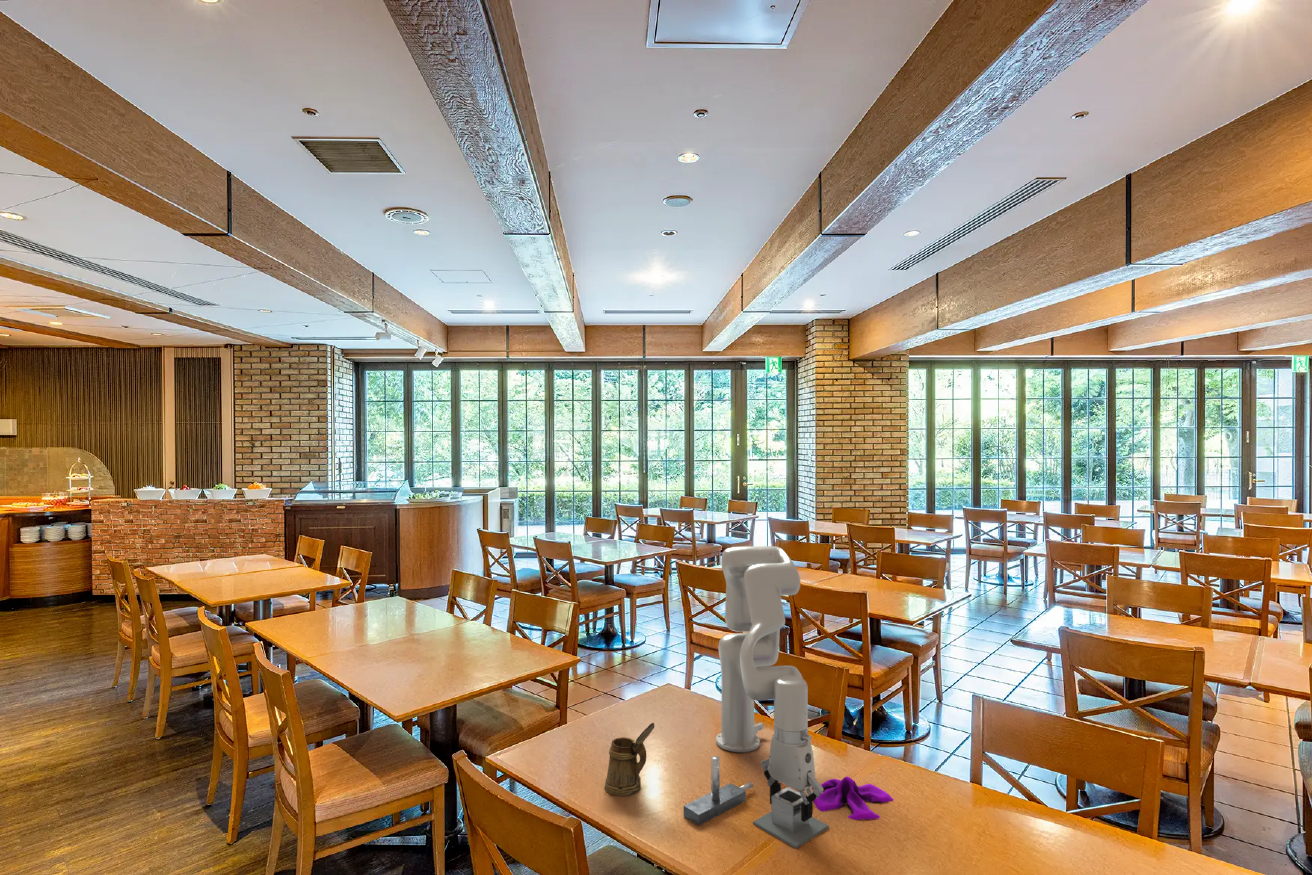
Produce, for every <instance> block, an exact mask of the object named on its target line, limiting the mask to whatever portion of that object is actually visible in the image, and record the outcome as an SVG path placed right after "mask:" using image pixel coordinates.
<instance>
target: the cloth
mask: <svg viewBox="0 0 1312 875" xmlns="http://www.w3.org/2000/svg"><path fill="white" fill-rule="evenodd" d="M820 785H821V786H822V787H823V792H822V793H821V794H820V795H819V797H818V798H817V799H815V800H814V801H813V804H814V805H815V807H816V808H817V810H818V811H820V812H822V813H824V812H827V811H832V810H838V809H841V808H842V807H846V806H847V805H848V807H849V808H850V810H851V814H850V815H847V816H848V819H850V820H856V821H860V820H878V819H880V818H881V816H880V815H879V814H877V813H875V812H874V811H872V810H871V809H870V807H868V805H867V804H866V802H870V803H872V804H873V803H877V802H878V803H887V802H888V803H889V802H894V801H893V800H894V798H893V797H892V796H891V795H890V794H889V793H888V792H886V791H884V790H883V789H881V788H879V787H878V786H876V785H874V784H872V783H867V784H864V785H860V786H859V785H858V784H857V783H856V781H855V780H854V779H852V778H851V777H850V776H844V777H843V778H842V779H838V778H831V779H828V780H825V781H824V782H823V783H820ZM812 789H813V790H814V788H813V787H812Z"/></svg>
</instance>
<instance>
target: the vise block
mask: <svg viewBox="0 0 1312 875" xmlns="http://www.w3.org/2000/svg"><path fill="white" fill-rule="evenodd" d="M720 761H721V758H720V756H718V755H712V756H711V761H710V762H711V763H710V764H711V766H710V767H711V768H710V772H711V774H710V776H711V778H710V779H711V781H710V782H711V783H710V792H709V793H707V794H705V795H702V796H700V797H699V798H696V799H695V800H692V801H690V802H688V803H686V804H684V805H683V818H686V819H687V820H688V821H690V822H691V823H693V824H695V825H696V826H698V827H699V826H701V825H704V824H705V823H708V822H709V821H711V820H713V819H714V818H717V817H719V816H720V815H723V814H725V813H726V812H729V811H730V810H732V809H734V808H736V807H737V806H740V805H741V804H742V805H743V803H745V802H747V801H746V800H747V799H746V796H747V795H746V794H747V793H746V792H747V791H748V790H749V789H751V788H753V787H754V783H753V782H752V781H749V782H748V783H745V784H743V785H742V786H738V785H735V784H733V783H732V782H730V783H728V784H725V785H723V786H722V787H720V784H721V783H720V781H721V779H720V777H721V776H720V775H721V774H720V770H721V769H720V768H721V762H720Z"/></svg>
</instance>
